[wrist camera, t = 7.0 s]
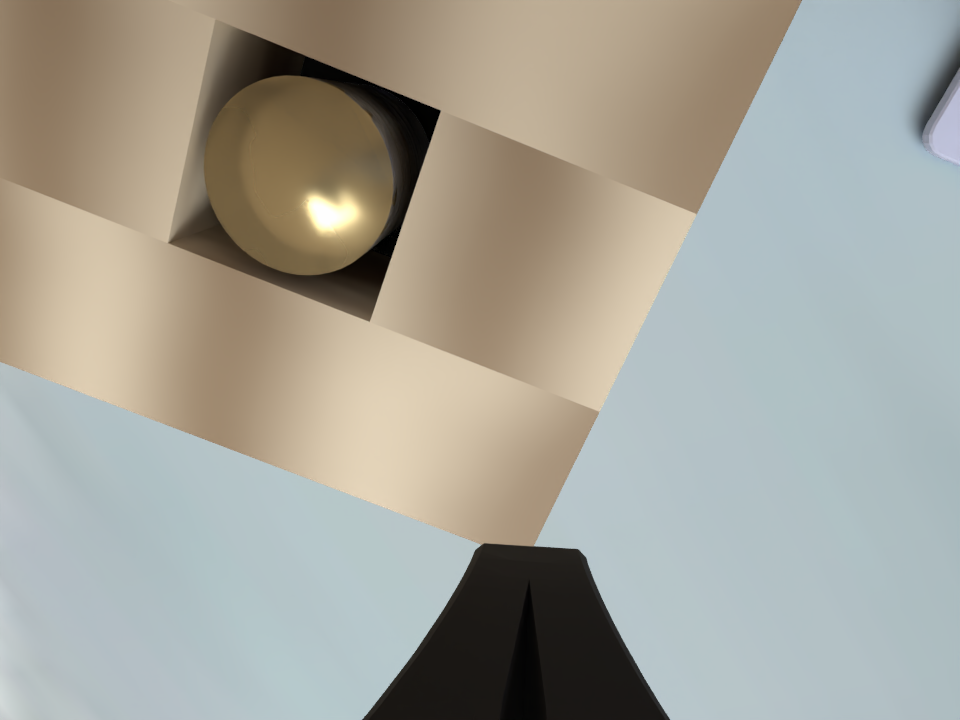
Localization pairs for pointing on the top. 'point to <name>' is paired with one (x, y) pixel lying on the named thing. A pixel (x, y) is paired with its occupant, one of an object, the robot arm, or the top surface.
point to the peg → (312, 170)
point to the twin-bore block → (373, 277)
